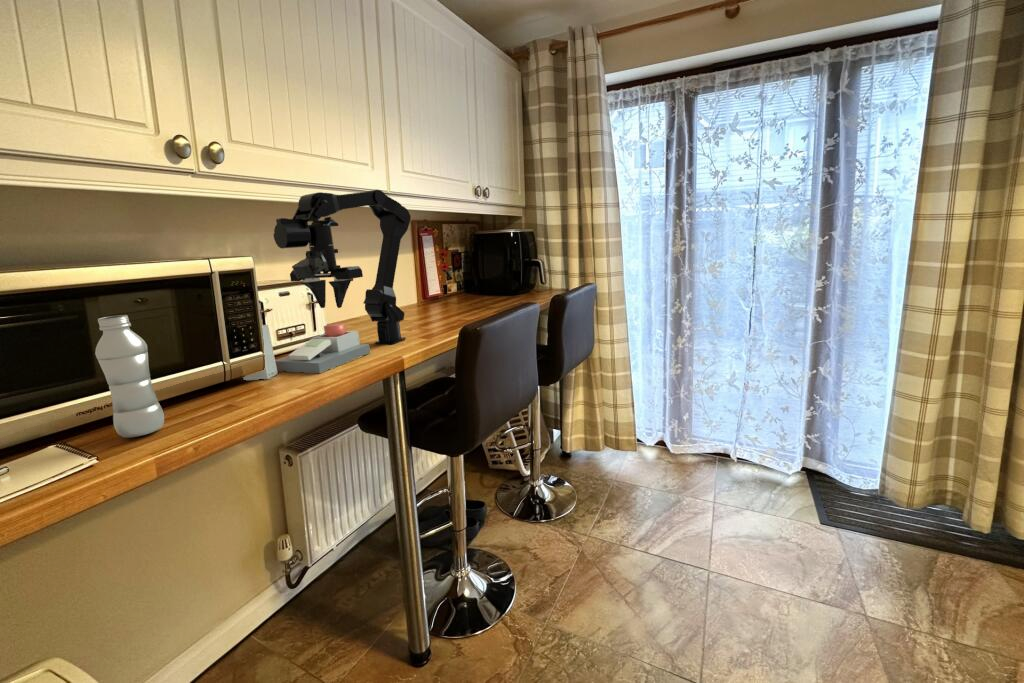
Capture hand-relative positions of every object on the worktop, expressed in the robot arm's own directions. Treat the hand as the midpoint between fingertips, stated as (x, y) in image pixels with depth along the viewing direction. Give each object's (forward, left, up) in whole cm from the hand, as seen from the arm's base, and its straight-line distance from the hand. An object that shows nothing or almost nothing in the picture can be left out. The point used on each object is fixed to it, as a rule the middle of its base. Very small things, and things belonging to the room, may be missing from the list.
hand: (331, 307), depth 121 cm
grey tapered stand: (+19, -6, -13) cm, 24 cm away
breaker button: (0, 0, -8) cm, 8 cm away
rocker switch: (+9, 0, -9) cm, 13 cm away
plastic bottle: (+49, +2, -13) cm, 51 cm away
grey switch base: (+5, 0, -13) cm, 14 cm away
